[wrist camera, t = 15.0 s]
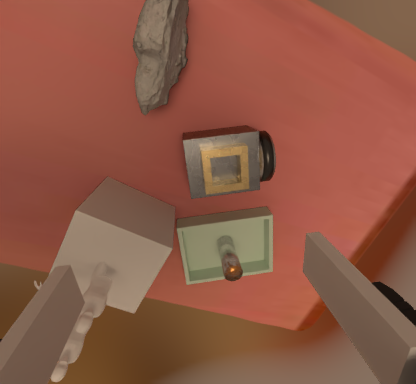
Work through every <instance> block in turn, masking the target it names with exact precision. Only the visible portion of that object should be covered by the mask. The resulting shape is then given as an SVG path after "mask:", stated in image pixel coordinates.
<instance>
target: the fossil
mask: <svg viewBox="0 0 416 384" xmlns="http://www.w3.org/2000/svg"><path fill="white" fill-rule="evenodd" d="M188 12H189V7H188V0H146V1H145V3H144V6H143V8H142V10H141V13H140V15H139V20H138V24H137V28H136V31H135V35H134V38H133V48H134V51H135V53H136V56H137V58H138V61H139V64H138V66H137V70H136V76H135V89H136V96H137V99H138V103H139V106H140V108H141V112H142V113H143V114H144V115H146V114H147V113H148V112H149V111H150V110H152V109H156V108H157V107H158V106H161V105H166V104H167V103H168V97H169V89H170V88H171V87H172V86H173V84H175V83H177V82H178V76H179V74H180V72H181V69H182V68H184V67H185V66H186V63H187V60H188V59H187V58H186V55H185V52H186V46H187V43H188V35H187V28H186V22H185V21H186V19H187V16H188Z"/></svg>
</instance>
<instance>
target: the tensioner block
mask: <svg viewBox="0 0 416 384" xmlns="http://www.w3.org/2000/svg"><path fill="white" fill-rule="evenodd" d="M183 144H184V151H185V158H186V165H187V172H188V179H189V186H190V193H191V199H194V198H202V197H209V196H217V195H224V194H231V193H239V192H246V191H254V190H260V182H262V181H269V180H270V179H271V178H272V177H273V175H274V172H275V166H276V156H275V148H274V144H273V141H272V138H271V136H270V135H269V134H268V133H267V132H266V131H257V130H255V129H253V128H251V127H249V126H246V125H245V126H237V127H229V128H220V129H212V130H204V131H195V132H187V133H183Z"/></svg>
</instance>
